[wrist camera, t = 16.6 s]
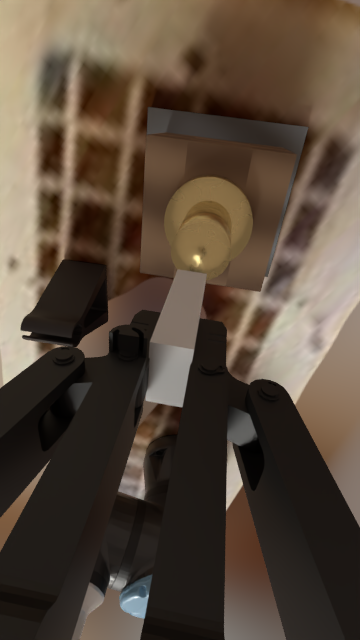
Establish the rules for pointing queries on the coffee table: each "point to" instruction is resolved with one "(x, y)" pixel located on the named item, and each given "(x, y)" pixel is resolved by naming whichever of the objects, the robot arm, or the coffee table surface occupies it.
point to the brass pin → (207, 224)
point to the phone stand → (69, 305)
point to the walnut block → (229, 162)
